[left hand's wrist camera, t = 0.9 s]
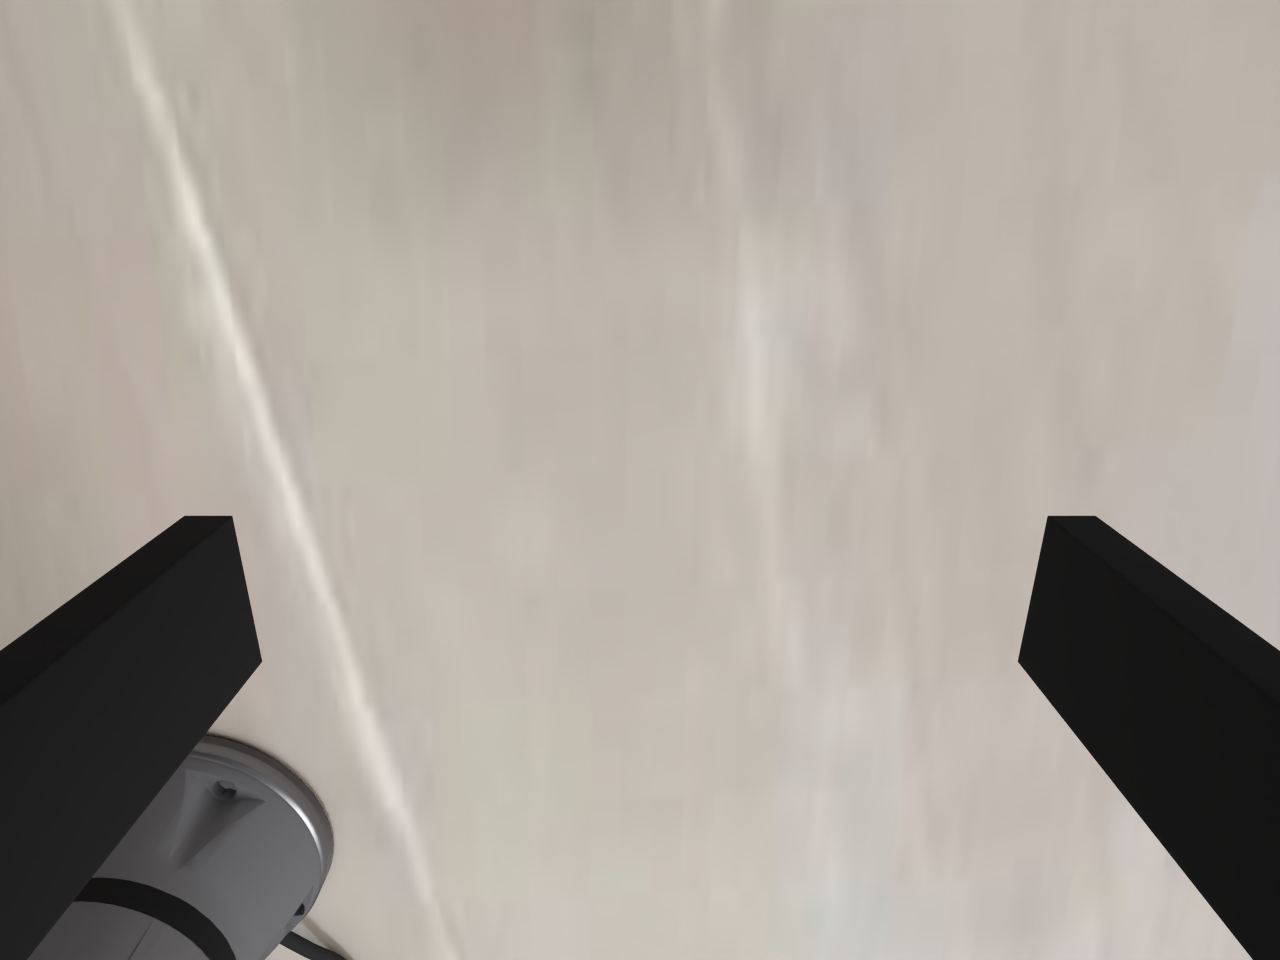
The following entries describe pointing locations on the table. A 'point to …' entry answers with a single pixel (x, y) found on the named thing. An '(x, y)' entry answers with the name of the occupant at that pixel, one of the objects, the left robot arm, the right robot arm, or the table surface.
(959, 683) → the table surface
